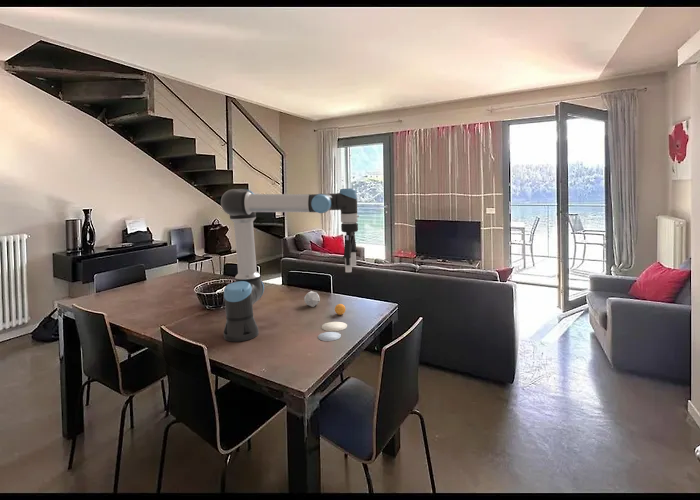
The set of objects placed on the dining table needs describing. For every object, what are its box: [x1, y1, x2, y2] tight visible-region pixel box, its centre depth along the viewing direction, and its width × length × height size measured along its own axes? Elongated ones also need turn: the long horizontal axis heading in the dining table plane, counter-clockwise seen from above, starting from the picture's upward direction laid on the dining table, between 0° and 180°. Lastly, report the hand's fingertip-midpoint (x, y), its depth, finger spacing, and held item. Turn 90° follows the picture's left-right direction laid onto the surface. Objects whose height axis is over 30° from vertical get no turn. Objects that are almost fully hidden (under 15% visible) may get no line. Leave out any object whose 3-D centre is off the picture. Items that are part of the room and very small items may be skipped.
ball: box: [334, 303, 346, 316], centre depth 195 cm, size 6×6×6 cm
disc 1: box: [321, 321, 348, 332], centre depth 179 cm, size 12×12×1 cm
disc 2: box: [317, 331, 342, 342], centre depth 167 cm, size 10×10×1 cm
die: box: [304, 290, 321, 308], centre depth 211 cm, size 8×9×10 cm
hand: (351, 268), depth 177 cm, fingers open, 13 cm apart
